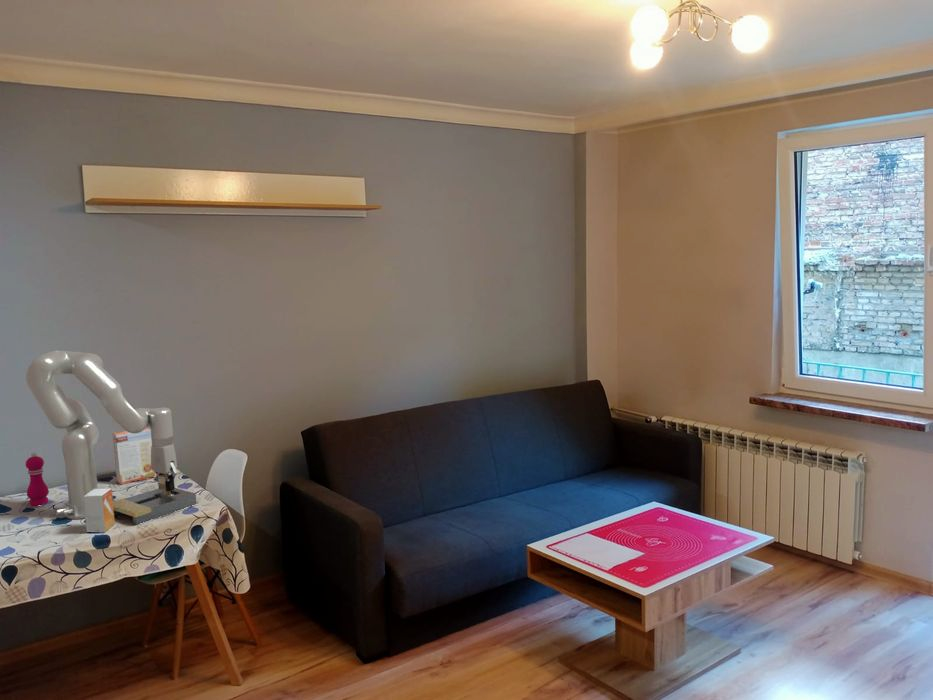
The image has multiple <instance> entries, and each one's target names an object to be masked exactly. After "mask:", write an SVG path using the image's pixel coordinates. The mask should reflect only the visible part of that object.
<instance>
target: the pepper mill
mask: <svg viewBox="0 0 933 700" xmlns="http://www.w3.org/2000/svg"><path fill="white" fill-rule="evenodd" d="M37 454H38V453H36V452H32V453H31V457H29V458H27V459H26V461H25V467H26V469H28V470H27V474H28V475H29V479H30V481H29V485H28V487H27V490H26V497H27V498H28V499H29V500H28V502H29V503H28V504H29V506H30V505H31V506H30V507H33V506H35V507H39V506H38V505H42V506H44V505H43V504H45V505H47V504H49V497H47V496H48V495H49V492H50V490H49V488H48V486H47V484H46V483H45V481H44V478H43V473H44V468H43V467H44V464H45V461H44V459H43V458H42V457H41V456H38V455H37ZM46 503H47V504H46Z"/></svg>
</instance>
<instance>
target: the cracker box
mask: <svg viewBox="0 0 933 700" xmlns="http://www.w3.org/2000/svg"><path fill="white" fill-rule="evenodd" d="M111 435H112V443H113V444H112V445H113V453H114V454H113V455H114V464H115V473H116V481H118V482H117V483H119V484H120V485H125V484H124V483H126V484H129V483H128V482H130V483H133V482H132V481H135V482H138V481H137V480H139V481H142V480H141V479H144V480H146V479H145V478H149V477H154V476H155V477H156V473H155V471H153V470H152V469H151V446H152V441H151V429H150V427H146V428H145V429H144V430H143V431H141V432H140V433H136V434H133V433H129V432H127V431H126V430H124V431H120V432H119V431H117V432H113V433H112V434H111ZM155 477H154V478H155ZM149 479H150V478H149Z"/></svg>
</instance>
